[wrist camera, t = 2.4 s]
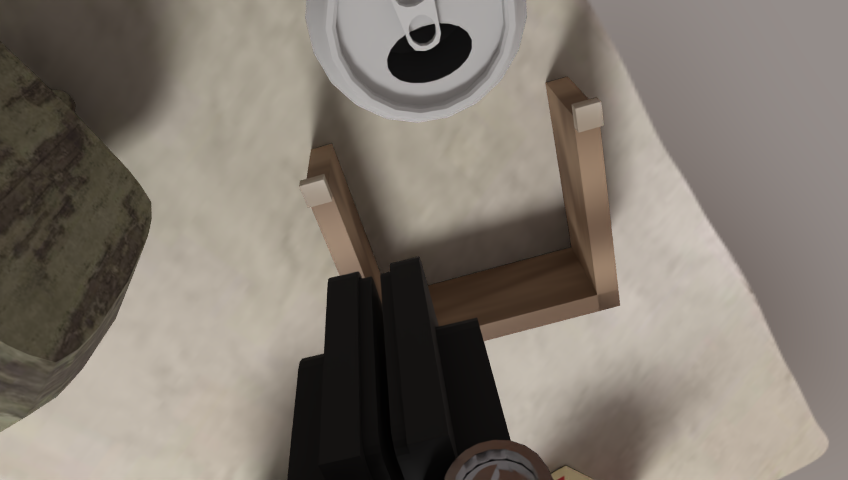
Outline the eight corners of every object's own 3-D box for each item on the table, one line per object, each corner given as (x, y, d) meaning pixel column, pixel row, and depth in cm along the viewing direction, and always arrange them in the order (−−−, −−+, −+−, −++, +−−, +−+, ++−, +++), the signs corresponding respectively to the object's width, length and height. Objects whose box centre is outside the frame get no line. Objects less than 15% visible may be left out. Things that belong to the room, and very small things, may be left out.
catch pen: (307, 139, 34) (299, 186, 29) (565, 65, 33) (601, 101, 28) (376, 314, 40) (379, 375, 36) (591, 257, 40) (623, 312, 35)
